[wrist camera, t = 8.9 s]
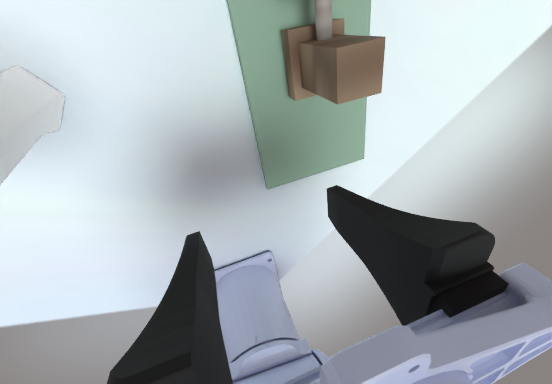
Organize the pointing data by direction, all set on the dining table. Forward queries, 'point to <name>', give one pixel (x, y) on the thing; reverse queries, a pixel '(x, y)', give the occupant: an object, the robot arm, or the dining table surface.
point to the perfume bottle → (25, 115)
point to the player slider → (331, 59)
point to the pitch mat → (275, 96)
